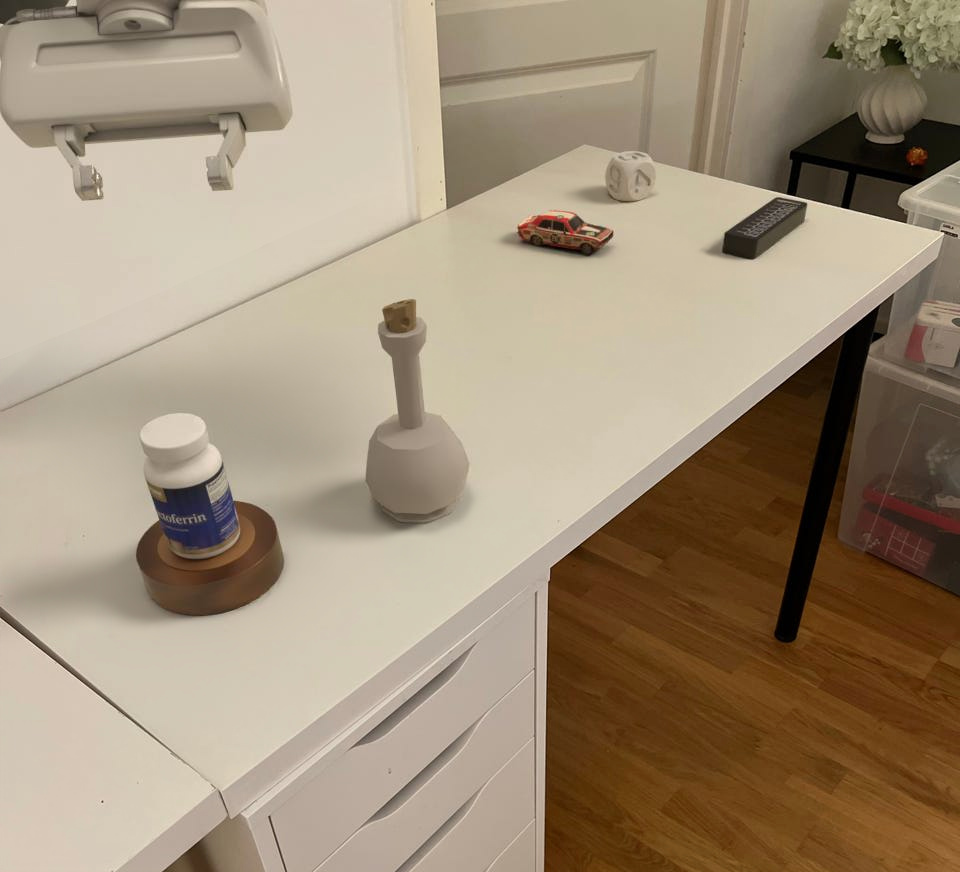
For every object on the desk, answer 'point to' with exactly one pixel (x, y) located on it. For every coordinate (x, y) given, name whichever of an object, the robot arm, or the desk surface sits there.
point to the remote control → (764, 228)
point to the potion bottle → (412, 434)
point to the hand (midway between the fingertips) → (155, 191)
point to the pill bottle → (189, 486)
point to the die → (630, 176)
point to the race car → (564, 231)
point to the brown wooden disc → (213, 567)
